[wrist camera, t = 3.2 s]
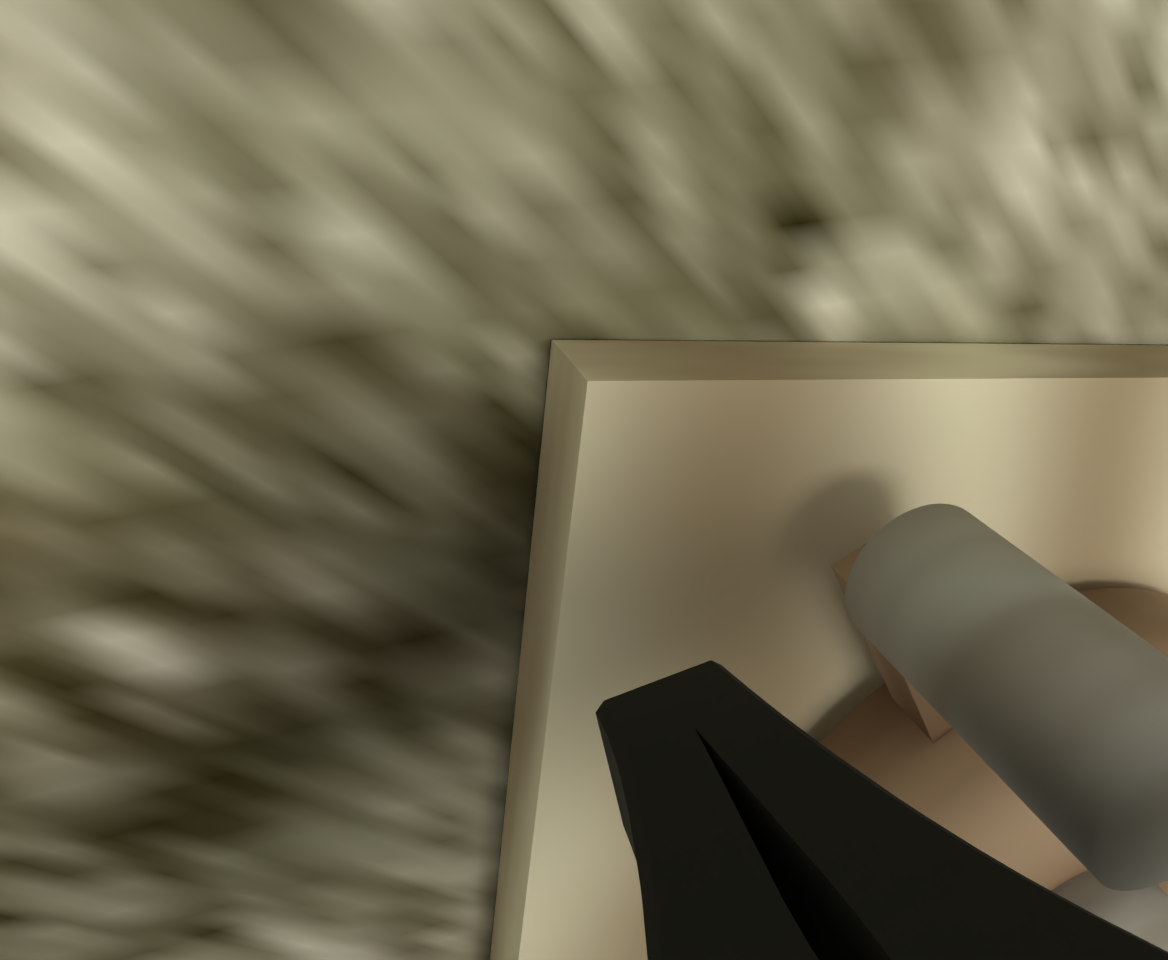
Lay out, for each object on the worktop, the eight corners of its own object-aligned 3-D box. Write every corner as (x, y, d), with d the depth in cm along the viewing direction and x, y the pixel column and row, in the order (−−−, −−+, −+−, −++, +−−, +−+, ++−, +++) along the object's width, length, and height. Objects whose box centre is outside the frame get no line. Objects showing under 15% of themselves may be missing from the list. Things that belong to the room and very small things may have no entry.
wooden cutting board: (471, 1146, 20) (488, 1232, 18) (551, 339, 12) (590, 384, 11) (1083, 976, 25) (1130, 1032, 24) (1412, 347, 17) (1510, 377, 16)
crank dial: (1253, 823, 20) (1529, 1051, 16) (836, 1101, 20) (999, 1409, 16) (1186, 248, 12) (1710, 391, 8) (488, 704, 12) (624, 1113, 8)
